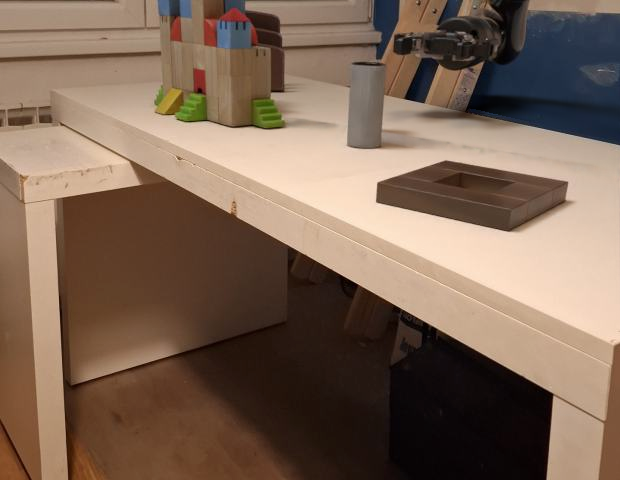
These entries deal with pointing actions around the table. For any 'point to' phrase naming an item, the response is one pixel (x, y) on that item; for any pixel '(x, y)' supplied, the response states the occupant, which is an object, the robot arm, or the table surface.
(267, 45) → the letter holder
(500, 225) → the socket pad
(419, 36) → the robot arm
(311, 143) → the table surface
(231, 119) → the block set
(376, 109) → the grey cylinder peg
